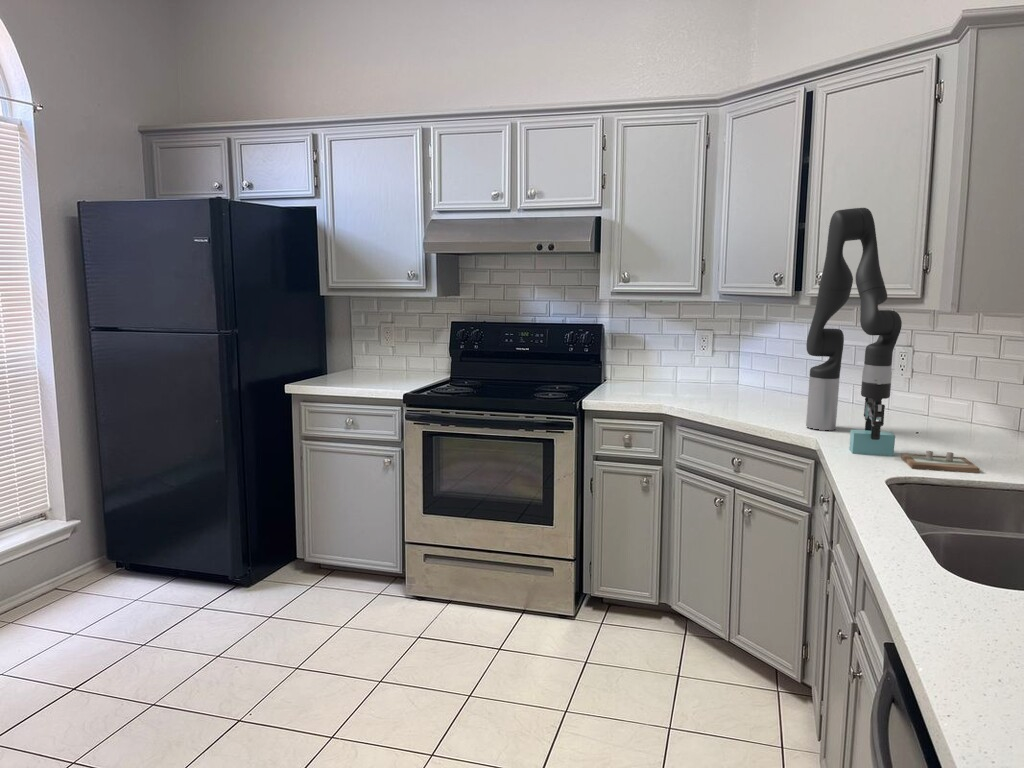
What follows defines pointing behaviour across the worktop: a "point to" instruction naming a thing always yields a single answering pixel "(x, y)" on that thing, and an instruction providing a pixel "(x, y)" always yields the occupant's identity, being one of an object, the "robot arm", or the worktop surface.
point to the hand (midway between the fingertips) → (871, 436)
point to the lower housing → (872, 443)
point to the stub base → (939, 462)
